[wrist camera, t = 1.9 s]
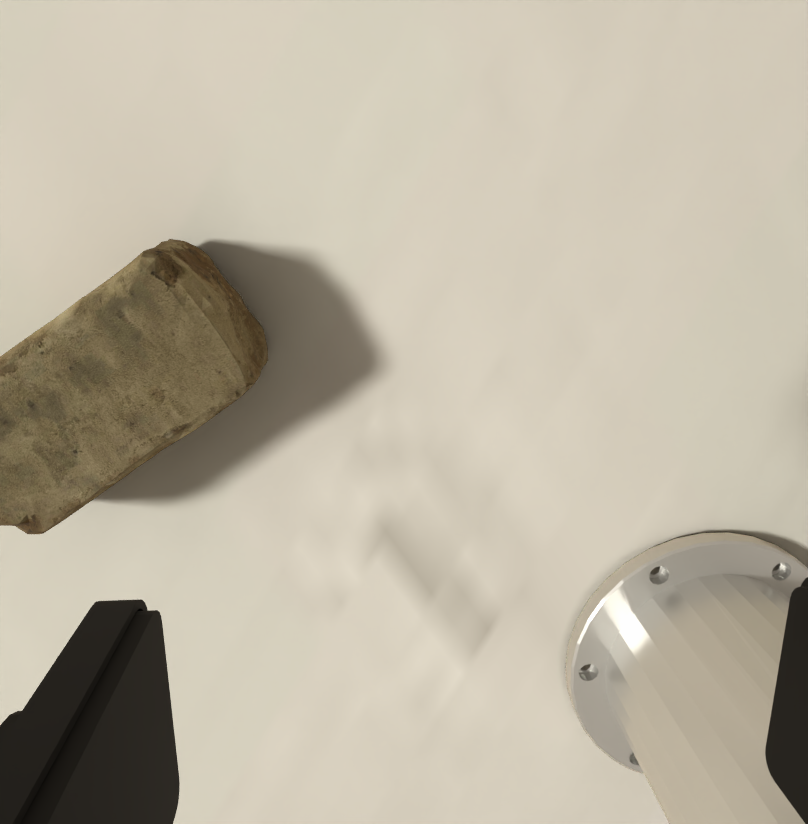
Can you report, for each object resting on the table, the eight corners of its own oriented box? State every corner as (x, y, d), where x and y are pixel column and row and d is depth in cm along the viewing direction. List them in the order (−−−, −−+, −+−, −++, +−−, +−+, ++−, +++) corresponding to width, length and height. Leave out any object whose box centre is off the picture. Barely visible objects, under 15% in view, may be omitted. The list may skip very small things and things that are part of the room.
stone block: (-36, 398, 28) (-114, 437, 23) (193, 225, 27) (159, 228, 22) (67, 507, 30) (13, 564, 25) (287, 347, 28) (275, 374, 24)
